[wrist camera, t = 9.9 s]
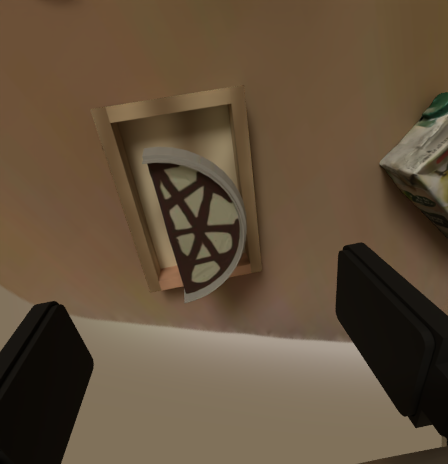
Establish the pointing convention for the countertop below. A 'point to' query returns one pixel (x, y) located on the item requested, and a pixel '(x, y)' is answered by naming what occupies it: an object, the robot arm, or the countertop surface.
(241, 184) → the wooden tray
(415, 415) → the robot arm
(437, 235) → the countertop surface
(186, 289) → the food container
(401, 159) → the juice carton
